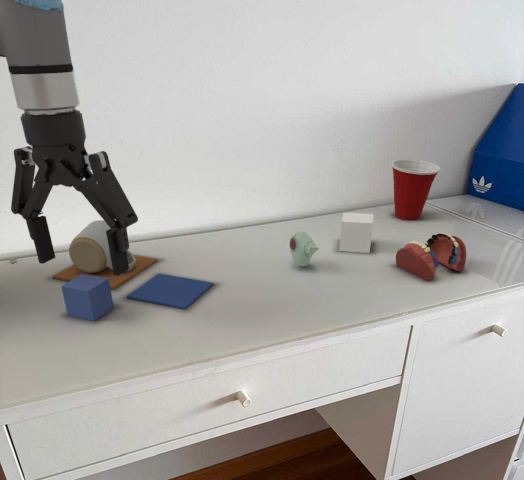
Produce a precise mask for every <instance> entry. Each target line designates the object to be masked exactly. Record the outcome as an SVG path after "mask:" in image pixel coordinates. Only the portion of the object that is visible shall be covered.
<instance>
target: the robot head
mask: <svg viewBox="0 0 524 480" xmlns="http://www.w3.org/2000/svg"><path fill="white" fill-rule="evenodd" d="M289 249H290V254H291V257H292V259H293V260H294V262H295V263H296V264H297V265H298V266H299V267H301V268H302V267H307V266H308V265H309V263H310V262H311V260H312V257H313V255H314V254H315V253H316V252H317V251H319V250H320V248H319V246H318V245H317V244H316V243H315V242H314V240H313V238H312V236H311V235H309V234H308V233H307V232H305V231H301V230H299V231H296V232H294V233H293V234H291V236H290V240H289Z"/></svg>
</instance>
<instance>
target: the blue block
mask: <svg viewBox="0 0 524 480" xmlns="http://www.w3.org/2000/svg"><path fill="white" fill-rule="evenodd" d="M60 288H61V292H62V296H63V301H64V305H65V311H66V314H67V316H69V317H72V318H78V319H83V320H87V321H93V322H95V321H96V320H98V319H99V318H101V317H102V316H104V315H106V314H107V313H108V312H109V311H111V310H112V309H113V308H115V306H114V300H113V295H112V289H111V288H110V283H109V278H104V277H98V276H92V275H87V274H81V275H80V276H78V277H76V278H74V279H73V280H71V281H66V282H65V283H64V284H62V285H61V286H60Z"/></svg>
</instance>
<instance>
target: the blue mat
mask: <svg viewBox="0 0 524 480" xmlns="http://www.w3.org/2000/svg"><path fill="white" fill-rule="evenodd" d="M214 283H215V282H211V281H206V280H200V279H194V278H193V279H192V278H189V277H181V276H176V275H170V274H164V273H157V274H156V275H154V276H153V277H152V278H150V279H149V280H147V281H146V282H144V283H143V284H141V285H140V286H139V287H137V288H136V289H135V290H133V291H132V292H130V293H128V294H127V295H126V299H128V300H133V301H139V302H145V303H150V304H155V305H161V306H166V307H171V308H176V309H182V310H186V309H188V308H189V307H190V306H191V305H192V304H193V303H194V302H196V301H197V300H198V299H199V298H200V297H202V296H203V294H205V293H206V292H207V291H208V290H209V289H211V288H212V287H213V286H214V285H215V284H214Z"/></svg>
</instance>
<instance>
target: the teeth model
mask: <svg viewBox="0 0 524 480" xmlns="http://www.w3.org/2000/svg"><path fill="white" fill-rule="evenodd" d="M395 253H396V254H395V264H396V267H399V268H401V269H402V270H404V271H406V272H408V273H410V274H412V275H415V276H417V277H418V278H420V279H422V280H425V281H427V282H429V281H430V280H432V279H433V278H435V275H436V271H437V268H438V267H439V264H442V265H444V266H446V267H448V268H449V269H451V270H453V271H457V272H460V273H461V272H463V271H464V268H465V265H466V261H467V248H466V244H465V242H464V241H463V240H462V238H460V237H458V236H456V235H452V234H448V233H446V232H438V233H433V234H432V235H431V237H430V238H428V239H427V240H426V243H423V242H420V241H417V240H411V241H409V242H408V243H406V244H405V245H404V246H403V247H401V248H400V249H398V250H397V251H396V252H395Z"/></svg>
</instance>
